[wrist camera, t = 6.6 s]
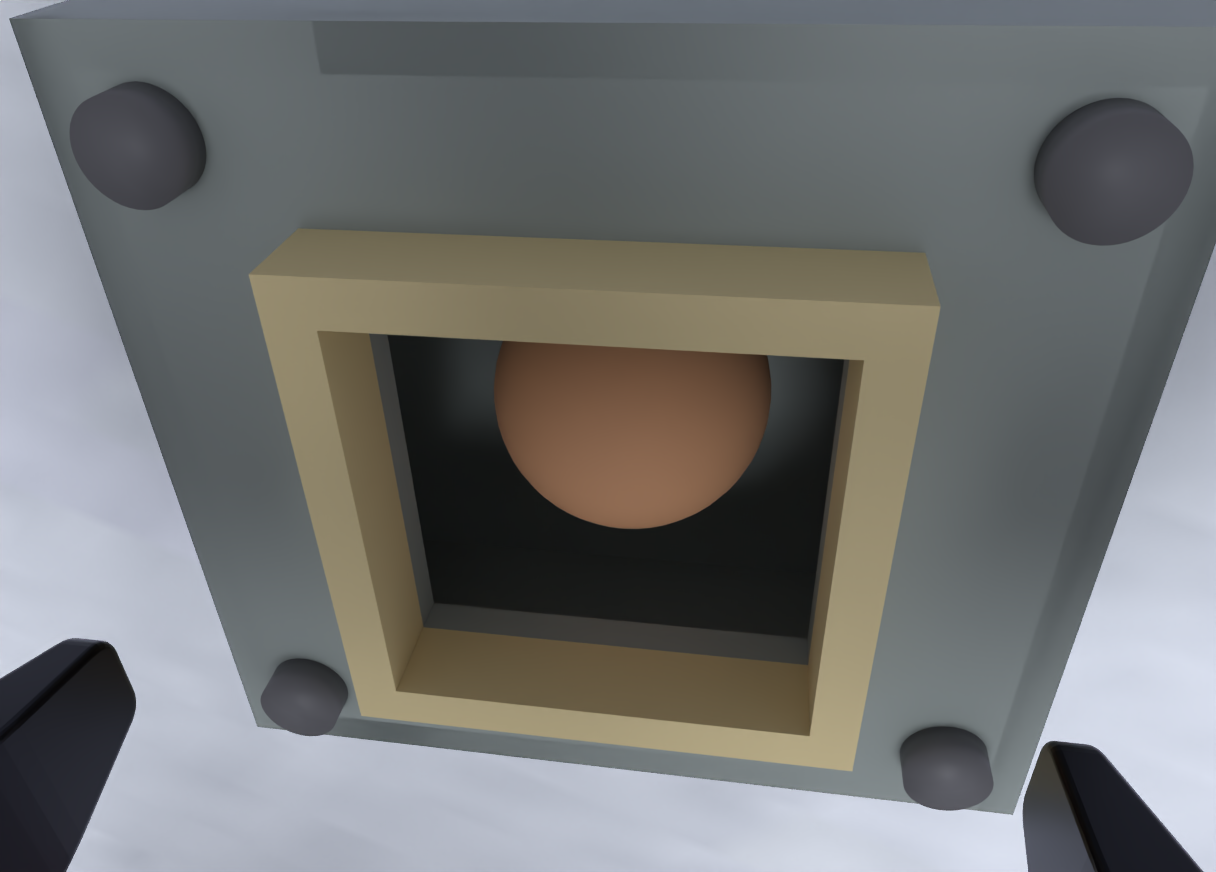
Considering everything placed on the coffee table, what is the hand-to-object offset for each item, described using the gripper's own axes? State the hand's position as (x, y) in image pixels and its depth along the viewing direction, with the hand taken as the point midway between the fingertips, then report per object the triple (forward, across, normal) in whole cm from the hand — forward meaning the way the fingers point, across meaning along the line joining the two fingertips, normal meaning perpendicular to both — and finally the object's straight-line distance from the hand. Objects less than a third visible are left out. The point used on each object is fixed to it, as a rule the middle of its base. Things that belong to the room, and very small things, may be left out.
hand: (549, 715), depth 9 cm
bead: (+8, 0, 0) cm, 8 cm away
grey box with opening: (+8, 0, 0) cm, 8 cm away
